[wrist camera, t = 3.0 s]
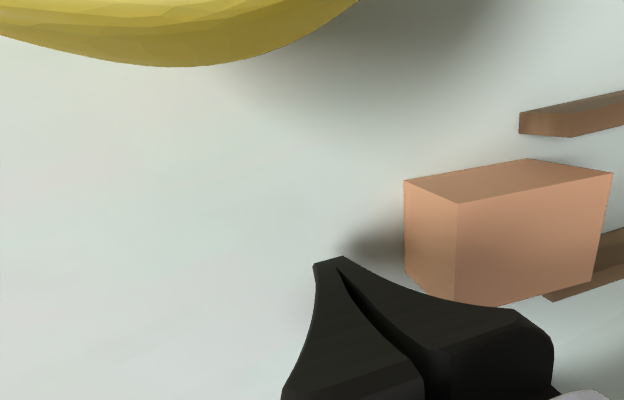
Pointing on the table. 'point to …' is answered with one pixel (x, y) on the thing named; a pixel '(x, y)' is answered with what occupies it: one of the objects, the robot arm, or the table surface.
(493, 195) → the terracotta block
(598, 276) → the walled channel
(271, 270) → the table surface
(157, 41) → the plant pot
